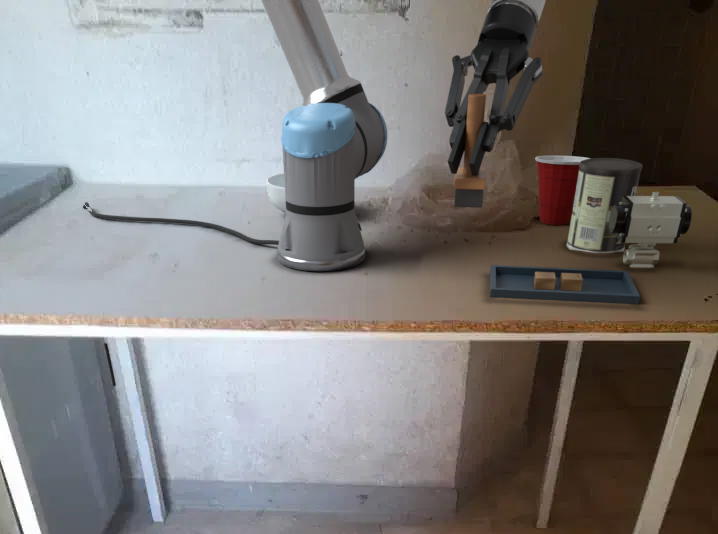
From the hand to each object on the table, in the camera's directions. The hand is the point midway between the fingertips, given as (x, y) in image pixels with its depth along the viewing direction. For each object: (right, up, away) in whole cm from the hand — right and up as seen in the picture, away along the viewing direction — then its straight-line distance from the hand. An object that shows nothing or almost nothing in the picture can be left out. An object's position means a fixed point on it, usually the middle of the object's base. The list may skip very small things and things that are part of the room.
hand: (462, 168), depth 103 cm
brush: (+2, -2, +6) cm, 7 cm away
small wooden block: (+19, -14, +11) cm, 25 cm away
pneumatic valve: (+33, -8, +20) cm, 39 cm away
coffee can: (+29, -1, +30) cm, 41 cm away
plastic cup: (+26, +9, +44) cm, 52 cm away
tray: (+17, -14, +11) cm, 25 cm away
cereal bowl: (-24, +12, +49) cm, 56 cm away
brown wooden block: (+15, -13, +11) cm, 23 cm away
